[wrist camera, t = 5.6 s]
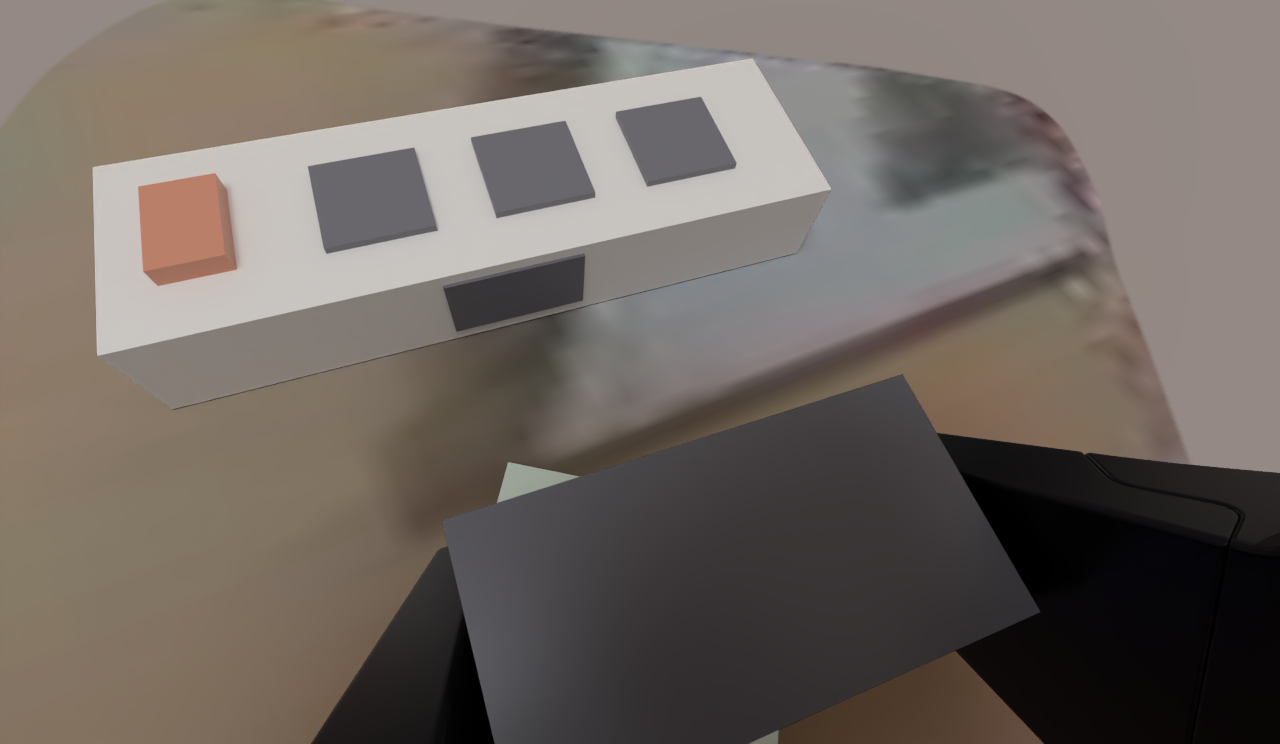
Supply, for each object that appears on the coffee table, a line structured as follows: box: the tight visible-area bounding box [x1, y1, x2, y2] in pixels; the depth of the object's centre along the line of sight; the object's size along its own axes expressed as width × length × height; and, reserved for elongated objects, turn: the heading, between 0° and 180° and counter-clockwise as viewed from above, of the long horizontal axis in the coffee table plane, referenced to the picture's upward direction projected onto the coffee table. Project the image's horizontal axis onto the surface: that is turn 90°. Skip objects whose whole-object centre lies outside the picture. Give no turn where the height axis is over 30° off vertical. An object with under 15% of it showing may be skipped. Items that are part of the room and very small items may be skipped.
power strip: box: [93, 58, 831, 409], centre depth 22 cm, size 22×7×4 cm, turn 110°
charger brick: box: [442, 374, 1040, 744], centre depth 10 cm, size 3×5×10 cm, turn 110°
